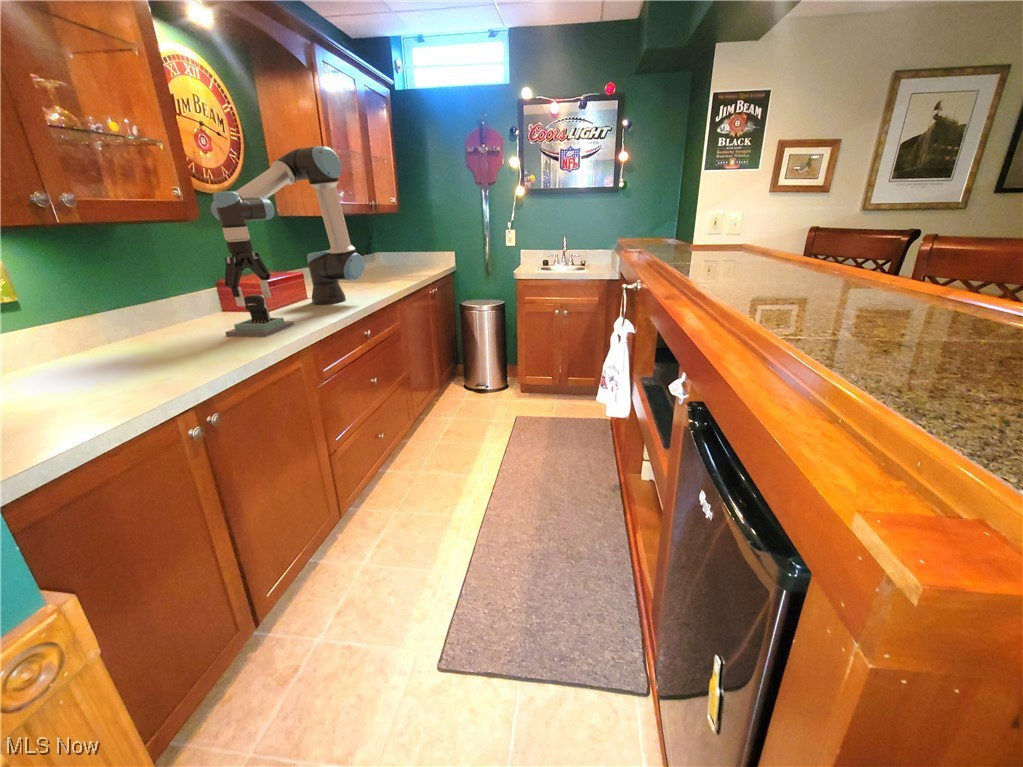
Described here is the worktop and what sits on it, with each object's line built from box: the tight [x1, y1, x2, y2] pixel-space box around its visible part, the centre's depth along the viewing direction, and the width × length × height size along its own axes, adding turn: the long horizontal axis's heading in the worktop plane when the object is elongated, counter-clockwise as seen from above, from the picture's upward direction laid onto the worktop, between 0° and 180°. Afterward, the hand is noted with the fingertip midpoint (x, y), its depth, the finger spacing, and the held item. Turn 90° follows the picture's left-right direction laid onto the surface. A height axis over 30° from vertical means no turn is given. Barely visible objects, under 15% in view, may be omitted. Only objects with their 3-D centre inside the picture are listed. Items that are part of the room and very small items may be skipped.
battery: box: [243, 294, 271, 324], centre depth 159 cm, size 7×4×11 cm, turn 81°
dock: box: [224, 317, 295, 337], centre depth 161 cm, size 16×16×4 cm
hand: (255, 301), depth 158 cm, fingers open, 13 cm apart
